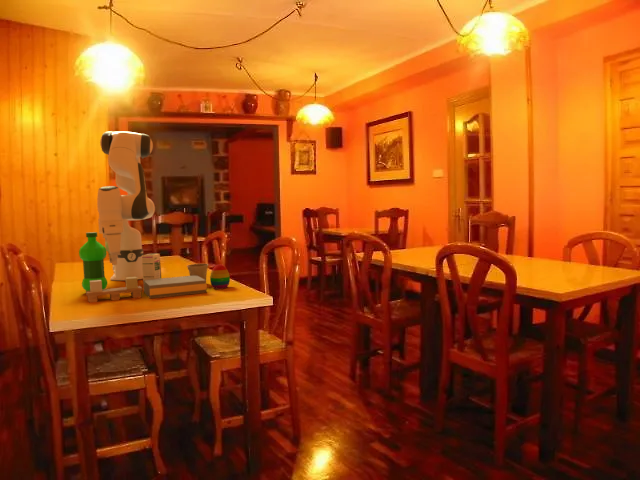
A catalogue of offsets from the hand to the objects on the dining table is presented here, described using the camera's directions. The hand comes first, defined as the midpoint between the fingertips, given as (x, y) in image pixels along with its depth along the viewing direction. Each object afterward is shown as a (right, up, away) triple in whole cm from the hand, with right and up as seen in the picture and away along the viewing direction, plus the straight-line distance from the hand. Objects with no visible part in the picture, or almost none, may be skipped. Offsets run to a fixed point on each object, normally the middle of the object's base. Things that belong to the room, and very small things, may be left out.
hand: (113, 264), depth 209 cm
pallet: (0, -14, +1) cm, 14 cm away
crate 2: (+6, -10, +4) cm, 12 cm away
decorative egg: (+38, -11, +20) cm, 44 cm away
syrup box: (+7, -11, +25) cm, 28 cm away
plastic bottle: (-14, -13, +16) cm, 25 cm away
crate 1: (-6, -10, -2) cm, 12 cm away
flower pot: (+26, -11, +30) cm, 41 cm away
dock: (+21, -12, +11) cm, 27 cm away
